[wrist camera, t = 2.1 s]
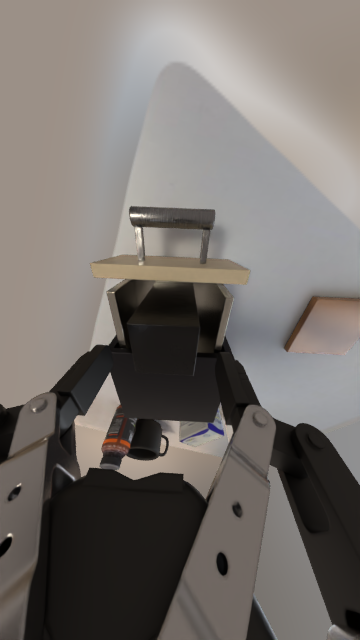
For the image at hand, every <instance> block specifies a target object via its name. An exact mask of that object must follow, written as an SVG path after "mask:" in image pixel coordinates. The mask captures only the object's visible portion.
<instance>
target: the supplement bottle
mask: <svg viewBox="0 0 360 640" xmlns="http://www.w3.org/2000/svg"><path fill="white" fill-rule="evenodd" d="M136 421H137V418H125V416H124V412H123V409H122V406H121V405H120V406H118V407H117V410H116V412H115V414H114V417H113V419H112V422H111V424H110V427H109V430H108V432H107V435H106V437H105V440H104V442H103V445H102V452H103V458H102V460H101V463H100V467H101V468H102V469H113V470H117V469H119V468H120V464H121V459H122V458H123V457H124V456H125V455H127V453H128V451H129V448H130V444H131V441H132V437H133V433H134V429H135V425H136Z"/></svg>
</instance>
